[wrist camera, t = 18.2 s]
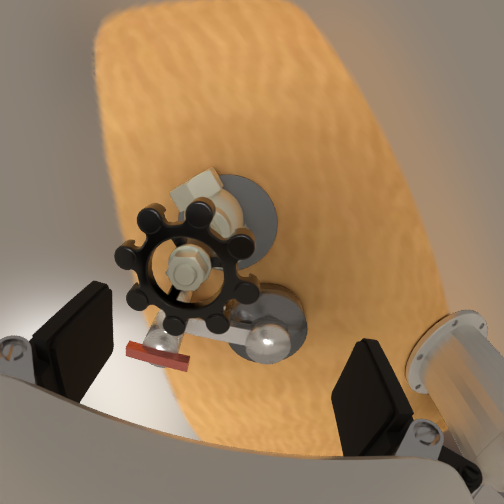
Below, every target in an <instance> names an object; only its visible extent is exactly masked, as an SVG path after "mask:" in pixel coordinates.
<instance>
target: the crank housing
mask: <svg viewBox="0 0 504 504" xmlns="http://www.w3.org/2000/svg"><path fill="white" fill-rule="evenodd" d="M192 294H193V291H186V290H182V291H181V293H180V295H179V297H178V299H177V300H179V301H182V302H187V303H189V302H190V299H191V297H192ZM200 302H202V301H201V300H200ZM223 308H224V310H225V308H226V305H225V306H224V307H223ZM229 309H230V311H231V320H232V321H236V322H241V323H246V324H251V323H252V322H253V321H255V320H257V319H259V318H263V317H273V318H277V319H279V320H281V321H282V322H283V323H284V324H285V325H286V326H287V329H288V333H289V338H290V343H291V348H290V352H289V354H288V355H287V356H286V357H285V358H284V359H286V358H288V357H290V356H291V355H293V354H294V353H295V352H296V351H297V350H299V348H300V347H301V346H302V344H303V343H304V341H305V339H306V336H307V321H306V318H305V315H304V311H303V308H302V305H301V302H300V301H299V299H298V298H297V296H296V295H295V294H294V293H293V292H292V291H290V290H289V289H287V288H285V287H283V286H280V285H276V284H270V283H264V284H260V296H259V299H258V300H257V301H256V302H255V303H253V304H250V305H244V304H241V303H239V302H238V301H237V300H233V301H232V302H231V304H230V306H229ZM164 318H165V313H164V311H163V310H161V309H160V311H159V313H158V315H157V317H156V322H157V324H158V326H159V327H160V328H161V329H162V330H164V328H163V320H164ZM164 331H165V330H164ZM228 343H229V345H230V346H231V348H232V349H233V350H234V351H235V352H236V353H237V354H238V355H240V356H241V357H243V358H245V359H247V360H250V361H253V360H252V359H251V358H250V357H249V356H248V354H247V352H246V346H245V345H240V344H235V343H230V342H228ZM253 362H255V361H253Z"/></svg>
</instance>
